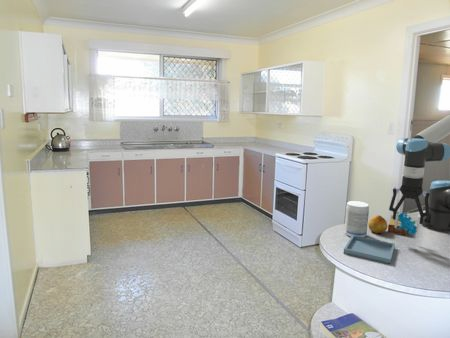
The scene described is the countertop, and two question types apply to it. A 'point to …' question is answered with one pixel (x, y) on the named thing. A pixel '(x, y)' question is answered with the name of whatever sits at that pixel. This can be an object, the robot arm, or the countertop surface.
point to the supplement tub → (356, 218)
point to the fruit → (377, 224)
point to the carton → (395, 230)
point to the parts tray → (370, 249)
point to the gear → (407, 224)
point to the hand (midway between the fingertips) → (406, 228)
